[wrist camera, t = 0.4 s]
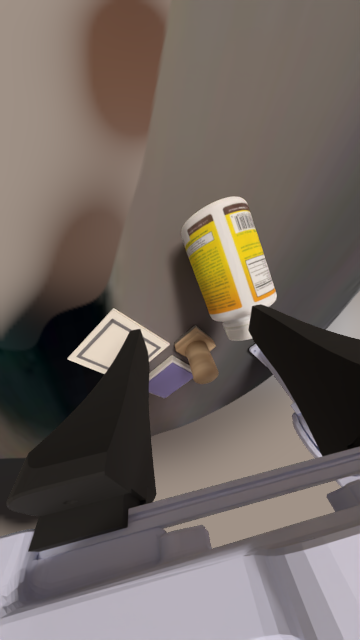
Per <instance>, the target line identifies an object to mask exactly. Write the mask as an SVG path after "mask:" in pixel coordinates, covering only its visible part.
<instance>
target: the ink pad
mask: <svg viewBox="0 0 360 640" xmlns="http://www.w3.org/2000/svg"><path fill="white" fill-rule="evenodd" d="M192 378H193V375H192V371H191V368H190V365H188V364H186V363H184V362H183V361H181V360H179V359H178V358H176V357H174V356H173V355H171V356H170V357H169V358H168V359H166V360H165V361H164V362H163V363H161V364H160V365H159V366H158V367H157V368H155V369H154V370H153V371H152V372H150V373H149V393H152V394H155V395H157V396H160V397H162V398H166V397H167V396H169V395H170V394H171V393H173V392H174V391H176V390H177V389H178V388H180V387H181V386H183V385H184V384H185V383H187V382H188V381H190V380H191V379H192Z"/></svg>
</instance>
